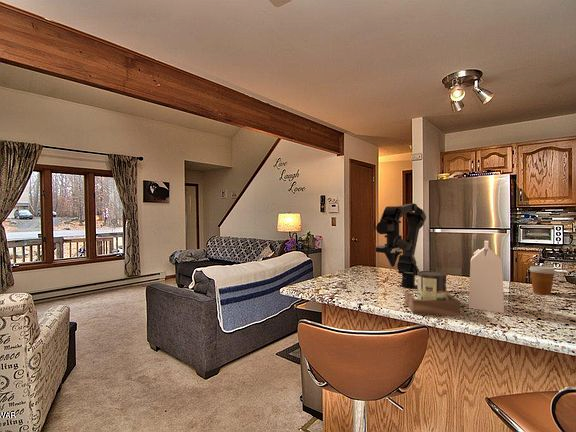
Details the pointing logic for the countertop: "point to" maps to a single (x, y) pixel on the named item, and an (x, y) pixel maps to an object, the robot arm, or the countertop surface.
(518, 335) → the countertop surface
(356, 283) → the countertop surface
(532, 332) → the countertop surface
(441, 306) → the brown tray
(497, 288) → the milk
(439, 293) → the coffee can
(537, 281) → the disposable coffee cup
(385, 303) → the countertop surface
